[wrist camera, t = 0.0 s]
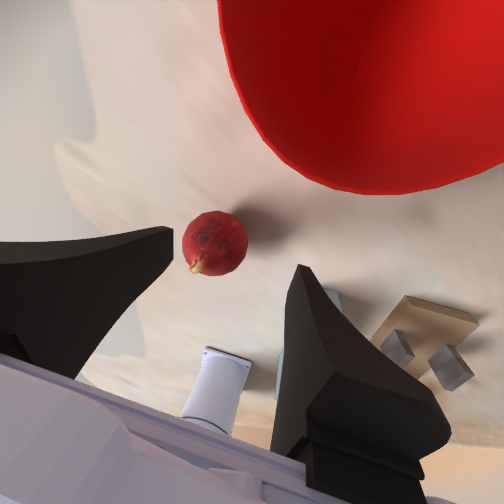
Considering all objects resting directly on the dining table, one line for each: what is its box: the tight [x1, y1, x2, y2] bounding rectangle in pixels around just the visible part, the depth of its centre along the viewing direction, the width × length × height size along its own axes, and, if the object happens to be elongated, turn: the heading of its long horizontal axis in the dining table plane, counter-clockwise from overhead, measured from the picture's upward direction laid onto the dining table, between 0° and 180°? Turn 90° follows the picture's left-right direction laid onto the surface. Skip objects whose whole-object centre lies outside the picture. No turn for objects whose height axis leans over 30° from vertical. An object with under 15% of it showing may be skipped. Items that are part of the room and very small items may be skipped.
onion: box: [182, 211, 248, 276], centre depth 18 cm, size 6×6×8 cm
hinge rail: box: [369, 296, 480, 391], centre depth 24 cm, size 20×6×4 cm, turn 169°
